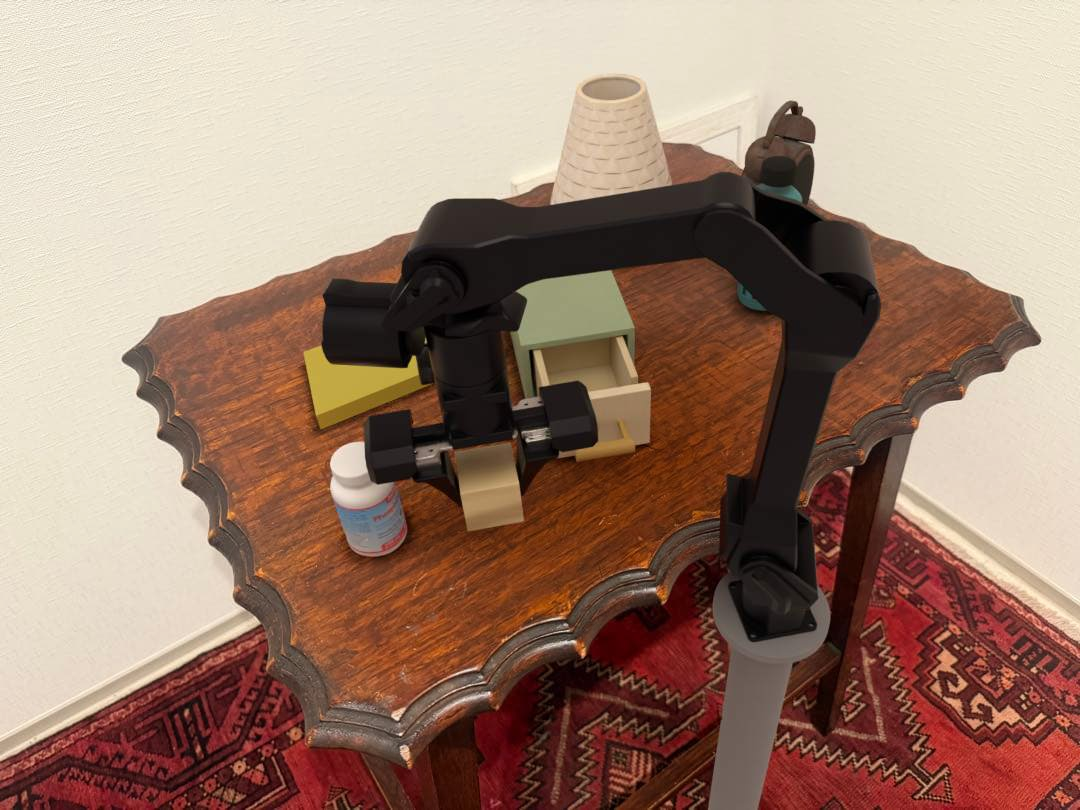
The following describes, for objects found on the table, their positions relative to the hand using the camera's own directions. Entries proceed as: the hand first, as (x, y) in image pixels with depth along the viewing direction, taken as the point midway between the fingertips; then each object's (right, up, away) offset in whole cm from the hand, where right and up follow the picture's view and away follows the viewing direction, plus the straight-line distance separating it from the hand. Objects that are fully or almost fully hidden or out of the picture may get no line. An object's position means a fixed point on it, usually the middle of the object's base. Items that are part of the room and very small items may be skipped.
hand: (491, 497), depth 77 cm
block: (0, -1, +1) cm, 1 cm away
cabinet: (+8, +13, +29) cm, 33 cm away
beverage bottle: (+33, +21, +35) cm, 52 cm away
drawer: (+10, +6, +19) cm, 23 cm away
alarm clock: (+36, +30, +44) cm, 65 cm away
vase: (+15, +31, +47) cm, 58 cm away
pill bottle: (-12, -5, +11) cm, 17 cm away
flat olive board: (-14, +13, +31) cm, 36 cm away
